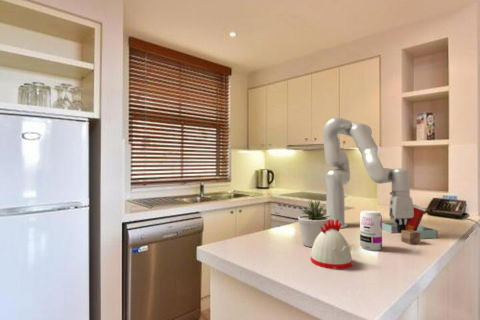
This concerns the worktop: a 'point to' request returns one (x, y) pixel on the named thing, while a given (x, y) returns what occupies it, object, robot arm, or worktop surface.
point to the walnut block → (410, 237)
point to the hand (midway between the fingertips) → (401, 232)
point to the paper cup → (415, 218)
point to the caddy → (423, 230)
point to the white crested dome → (331, 248)
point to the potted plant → (312, 223)
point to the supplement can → (371, 230)
